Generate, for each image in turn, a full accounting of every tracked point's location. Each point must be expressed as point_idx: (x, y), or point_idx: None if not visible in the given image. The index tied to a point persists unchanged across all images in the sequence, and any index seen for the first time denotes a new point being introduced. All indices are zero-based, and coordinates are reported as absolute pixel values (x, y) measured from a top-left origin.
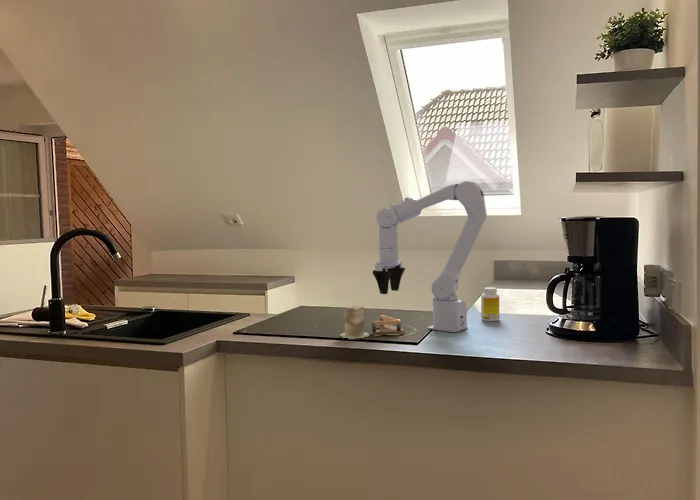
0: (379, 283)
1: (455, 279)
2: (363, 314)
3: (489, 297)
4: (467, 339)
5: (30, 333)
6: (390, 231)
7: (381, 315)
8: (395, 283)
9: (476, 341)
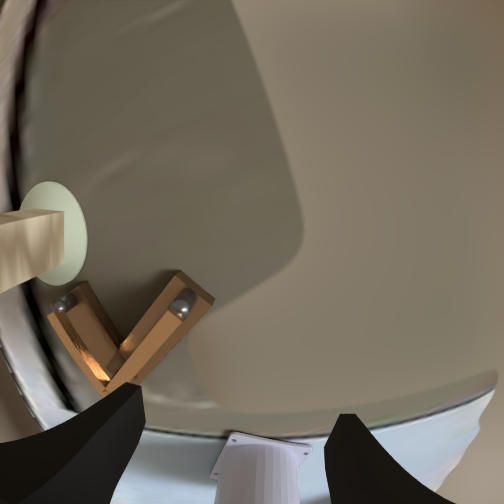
0: (76, 435)
1: None
2: (15, 284)
3: None
4: (162, 483)
5: None
6: None
7: (163, 317)
8: (341, 481)
9: (155, 490)
